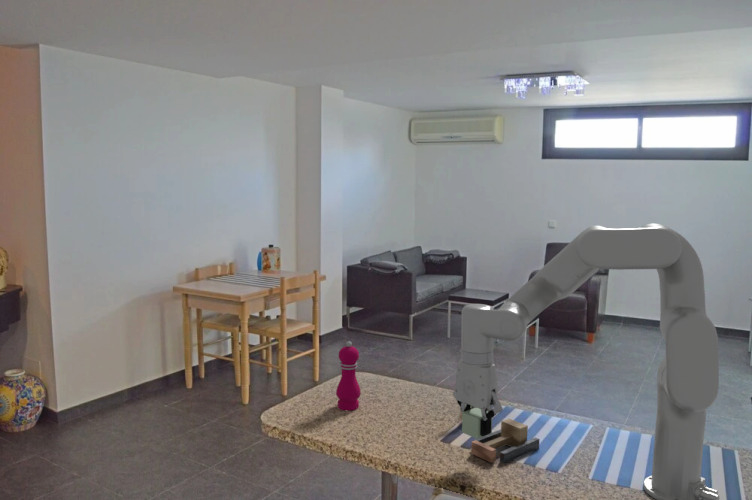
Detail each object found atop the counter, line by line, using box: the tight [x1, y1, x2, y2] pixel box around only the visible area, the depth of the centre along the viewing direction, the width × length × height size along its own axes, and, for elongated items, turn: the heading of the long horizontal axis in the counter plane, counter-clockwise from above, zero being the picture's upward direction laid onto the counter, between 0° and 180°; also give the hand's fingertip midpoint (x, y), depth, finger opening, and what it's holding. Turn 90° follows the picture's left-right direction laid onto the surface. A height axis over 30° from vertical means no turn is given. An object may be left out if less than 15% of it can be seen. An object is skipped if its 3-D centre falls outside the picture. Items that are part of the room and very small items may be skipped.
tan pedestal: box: [470, 418, 529, 464], centre depth 154 cm, size 6×14×6 cm, turn 129°
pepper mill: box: [335, 340, 362, 412], centre depth 182 cm, size 7×7×20 cm
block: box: [461, 407, 493, 439], centre depth 147 cm, size 5×5×5 cm
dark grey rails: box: [472, 429, 540, 464], centre depth 156 cm, size 10×14×2 cm
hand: (476, 430), depth 147 cm, fingers closed on block, 5 cm apart
